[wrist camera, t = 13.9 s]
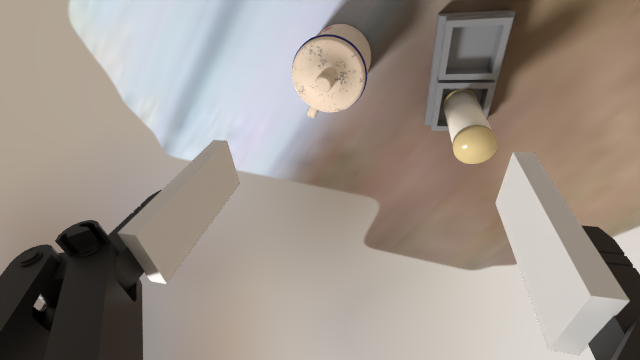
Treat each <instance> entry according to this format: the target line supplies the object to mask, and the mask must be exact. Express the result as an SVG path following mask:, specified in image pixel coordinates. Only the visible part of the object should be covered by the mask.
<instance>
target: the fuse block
mask: <svg viewBox="0 0 640 360" xmlns="http://www.w3.org/2000/svg"><path fill="white" fill-rule="evenodd" d="M515 14H516V12H515V11H513V10H511V9H510V10H493V11H476V12H459V13H442V14H438V17H437V25H436V33H435V40H434V48H433V56H432V63H431V71H430V79H429V86H428V94H427V101H426V109H425V117H424V123H425V125H428V126H430V127H431V131H449V128H448V124H447V119H446V115H445V112H444V109H443V100H444V98H445V96H446V95H447V94H448V93H449V92H450V91H452V90H453V89H470V90H472V91H473V92H474V94H475V96H476V98H477V101H478V103H479V105H480V107H481V109H482V111H483V113H484V115H485V117H486V119H488V115H489V112H490V108H491V104H492V100H493V97H494V93H495V89H496V85H497V82H498V78H499V74H500V70H501V67H502V63H503V59H504V55H505V52H506V48H507V44H508V40H509V37H510V33H511V29H512V25H513V22H514V18H515Z"/></svg>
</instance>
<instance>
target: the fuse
mask: <svg viewBox="0 0 640 360" xmlns="http://www.w3.org/2000/svg"><path fill="white" fill-rule="evenodd" d="M443 109H444V112H445V115H446V119H447V124H448V128H449V132H450V136H451V140H452V145H453V150H454V154H455V156H456V157H457V158H458V159H459V160H460V161H462V162H464V163H468V164H477V163H481V162H484V161H486V160H488V159H489V158H490V157H492V156H493V154H494V153H495V152H496V150H497V146H498V141H497V138H496V136H495V134H494V132H493V131H492V129H491V127H490V125H489V123H488V121H487V119H486V117H485V115H484V113H483V111H482V109H481V107H480V105H479V103H478V101H477V98H476V96H475V94H474V92H473V91H472V90H470V89H453V90H452V91H450V92H449V93H448V94H447V95H446V96H445V98H444V100H443Z"/></svg>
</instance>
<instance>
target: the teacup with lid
mask: <svg viewBox="0 0 640 360" xmlns="http://www.w3.org/2000/svg"><path fill="white" fill-rule="evenodd" d="M370 63H371V50H370V46H369V43H368V41H367V39H366V38H365V36H364V35H363V34H362V33H361V32H360V31H359V30H358V29H356V28H355V27H353V26H350V25H347V24H334V25H331V26H328V27H326V28H325V29H323V30H322V31H321V32H320V33H319V34H317V35H316V36H315V37H313V38H311V39H309V40H308V41H306V42H305V43H304V44H303V45H302V46H301V47H300V49H299V50H298V51H297V53H296V55H295V58H294V61H293V66H292V77H293V82H294V86H295V88H296V90H297V92H298V94H299V95H300V97H301V98H302V99H303V100H304V101H305V102H306V103H307V104H308V105H310V107H309V109H308V112H307V115H308V116H310V117H312V118H314V117H315V116H316V114H317V113H318V111H319V110H320V111H324V112H338V111H341V110H344V109H347V108H349V107H350V106H352V105H353V104H354V103H355V102H356V101H357V100H358V99H359V98H360V97H361V95H362V93H363V91H364V89H365V86H366V81H367V73H368V70H369V67H370Z"/></svg>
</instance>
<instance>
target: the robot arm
mask: <svg viewBox="0 0 640 360" xmlns="http://www.w3.org/2000/svg"><path fill="white" fill-rule="evenodd" d="M239 184H240V182H239V179H238V176H237V172H236V169H235V166H234V162H233V159H232V156H231V153H230V149H229V146H228V143H227V141H219V140H213V141H212V142H211V143H210V144H209V145H208V146H207V147H206V148H205V149H204V150H203V151H202V152H201V153H200V154H199V155H198V156H197V157H196V158H195V159H194V160H193V161H192V162H191V163H190V164H189V165H188V166H186V167H185V168H184V169H183V170H182V171H181V172H180V173H179V174H178V175H177V176H176V177H175V178H174V179H173V180H172V181H171V182H170V183H169V184H168V185H167V186H166V187H165V188H164V189H163V190H160V191H158V192H156V193H155V194H153V195H151V196H150V197H148V198H147V199H146V200H145V201H144V202H143V203H142V204H141V206H140V207H138V208H137V209H136V210H135V211H134V213H131V214H130V215H129V216H128V217H127V218H126V219H125V220H124V221H123V222H122V223H121V224H120V225H119V226H118V227H116V228H115V229H114V230H113V231H112V232H111V233H110V234H109V235H107V234H106V233H105V231H104V230H103V229H102V227H101V226H100V224H99V223H98V222H96V221H94V220H88V221H83V222H80V223H77V224H75V225H72V226H71V227H69V228H67V229H66V230H64V231H63V232H62V233H61V234H60V235H59V236H58V237H57V239H56V240H55V241H56V243H57V244H58V245H59V246H60V247H61V248H62V249H63V250H64V253H57V252H56V250H55V249H54V248H53V247H52V246H50V245H39V246H36V247H33V248H30V249H28V250H26V251H24V252H23V253H21V254H20V255H19V256H17V257H16V258H15V259H14V260H13V261H12V262H11V263H10V264H9V265H8V267H7V268H6V270H5V271H4V272H3V273H2V275H1V276H0V360H143V333H142V332H143V329H142V328H143V327H142V284H141V281H140V279H139V278H140V276H141V275H142V274H143V273H144V272H145V274H146V275H147V277H148V278H149V279H150V281H153V282H158V283H164V284H167V283H168V282H169V280H170V279H171V278H172V276H173V275H174V274H175V272H176V271H177V269H178V268H179V266H180V265H181V264H182V263H183V261H184V260H185V258H186V257H187V256H188V254H189V253H190V251H191V250H192V249H193V247H194V246H195V245H196V243H197V242H198V241H199V239H200V238H201V236H202V235H203V234H204V232H205V231H206V230H207V228H208V227H209V225H210V224H211V223H212V221H213V220H214V219H215V217H216V216H217V214H218V213H219V212H220V210H221V209H222V207H223V206H224V205H225V203H226V202H227V201H228V199H229V198H230V196H231V195H232V194H233V193H234V191H235V190H236V188H237V187H238V185H239ZM496 206H497V208H498V211H499V214H500V217H501V219H502V222H503V225H504V228H505V231H506V233H507V236H508V239H509V242H510V244H511V247H512V250H513V253H514V256H515V258H516V261H517V264H518V267H519V270H520V272H521V275H522V278H523V281H524V283H525V286H526V289H527V292H528V294H529V297H530V300H531V303H532V306H533V308H534V310H535V314H536V316H537V320H538V322H539V325H540V328H541V331H542V333H543V336H544V339H545V342H546V345H547V347H548V350H551V351H557V352H563V353H569V354H574V355H580V354H581V353H582V352H583V351H584V350H585V349H586V348H587V346H588V345H589V347H590V349H591V351H592V353H593V355H594V357H595V359H596V360H640V274H639V273H638V271H637V270H636V269H635V268H633V264H632V263H631V262H630V260H629V259H628V258H627V256H624V252H623V251H622V249H621V248H620V247H619V245H618V244H617V243H616V241H615V240H614V239H613V238H612V237H610V236H609V235H608V234H606V233H605V232H604V231H603V230H601V229H600V228H599V227H592V226H581V224H580V223H579V221H578V220H577V218H576V217H575V215H574V214H573V212H572V211H571V209H570V207H569V206H568V204H567V203H566V201H565V200H564V198H563V197H562V195H561V194H560V192H559V190H558V189H557V187H556V186H555V184H554V183H553V181H552V180H551V178H550V177H549V175H548V173H547V172H546V170H545V169H544V167H543V166H542V164H541V163H540V161H539V159H538V158H537V156H536V155H535V153H526V152H513V153H512V156H511V159H510V162H509V165H508V168H507V171H506V174H505V177H504V180H503V183H502V186H501V188H500V191H499V194H498V197H497V200H496ZM37 299H39V300H40V301H42V302H43V303H44V305H43V307H42V309H41V310H40V311H39V310H37V309H36V308H35V307H33V306H34V304H35V302H36V300H37Z"/></svg>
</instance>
